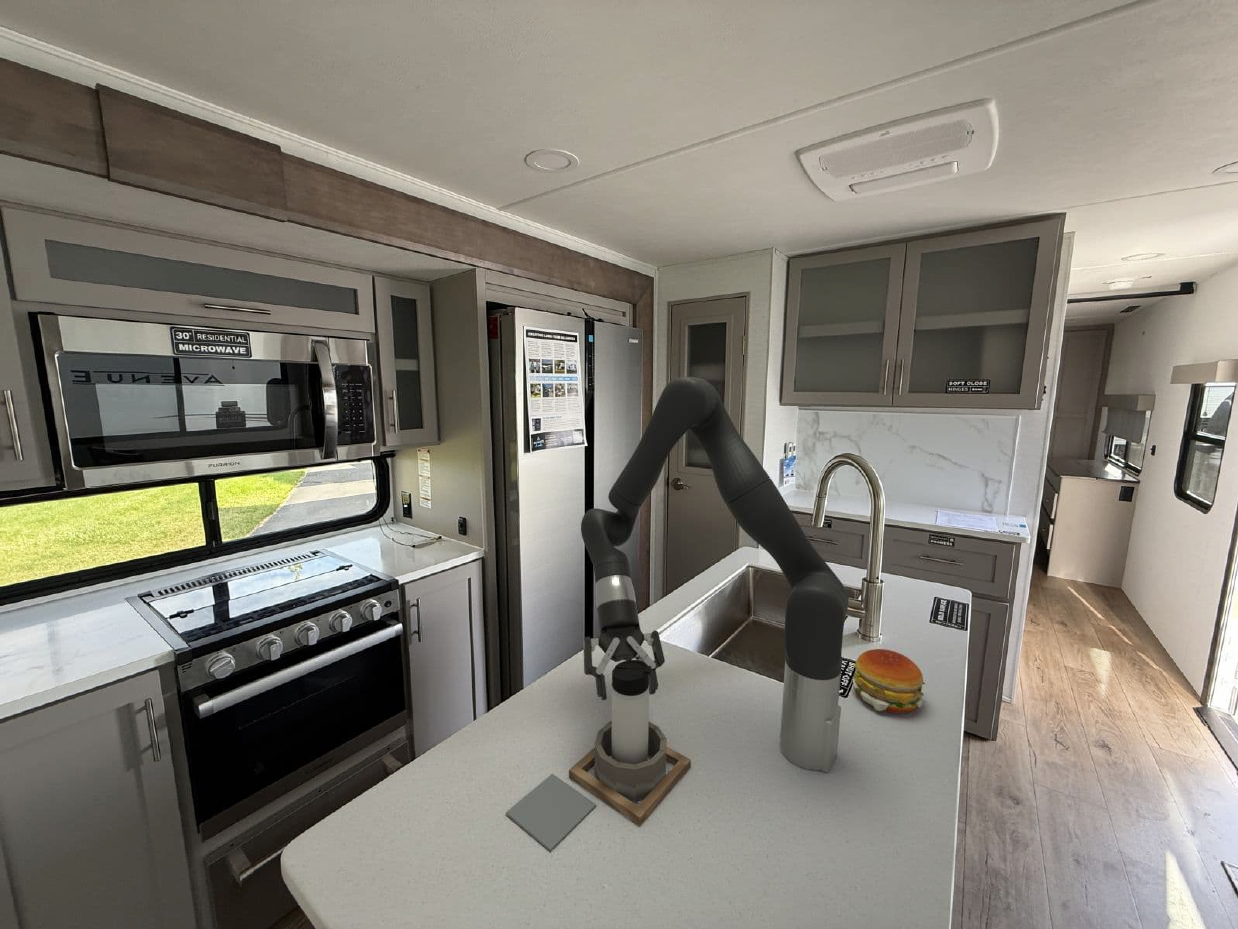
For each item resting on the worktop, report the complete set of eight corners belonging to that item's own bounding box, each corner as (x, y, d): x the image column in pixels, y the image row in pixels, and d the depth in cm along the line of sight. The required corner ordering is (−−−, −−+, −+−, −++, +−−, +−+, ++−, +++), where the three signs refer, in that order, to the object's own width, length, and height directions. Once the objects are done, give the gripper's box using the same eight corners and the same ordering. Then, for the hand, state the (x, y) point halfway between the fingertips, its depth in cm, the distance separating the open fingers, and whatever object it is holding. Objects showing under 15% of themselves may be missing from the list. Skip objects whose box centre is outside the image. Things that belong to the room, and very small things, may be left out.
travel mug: (646, 789, 83) (648, 680, 80) (608, 783, 85) (607, 675, 81) (652, 761, 89) (653, 658, 86) (615, 756, 91) (615, 654, 87)
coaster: (596, 806, 80) (596, 804, 80) (550, 852, 73) (550, 849, 72) (552, 775, 86) (552, 773, 86) (505, 814, 79) (505, 812, 79)
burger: (928, 697, 108) (934, 654, 106) (913, 730, 98) (919, 683, 96) (862, 672, 117) (865, 632, 115) (841, 700, 107) (845, 657, 105)
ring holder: (690, 767, 88) (691, 736, 87) (639, 826, 77) (640, 791, 76) (623, 729, 98) (623, 701, 96) (568, 777, 86) (568, 746, 85)
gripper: (580, 600, 91) (589, 697, 82) (656, 594, 94) (673, 687, 85) (577, 614, 97) (585, 705, 88) (649, 608, 100) (664, 696, 91)
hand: (628, 696), depth 87 cm, fingers open, 8 cm apart
